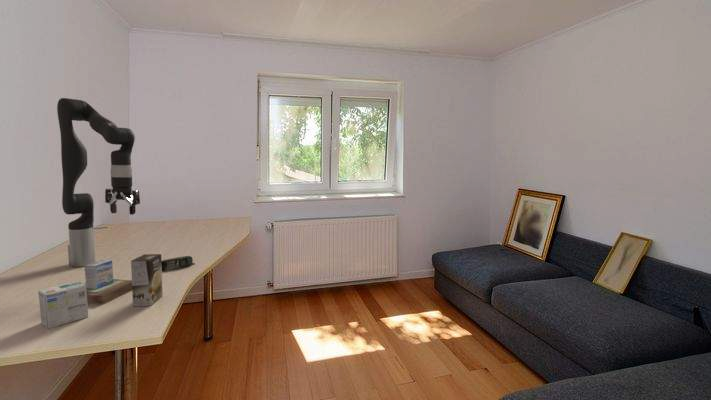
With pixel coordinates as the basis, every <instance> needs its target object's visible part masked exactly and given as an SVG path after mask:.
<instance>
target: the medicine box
mask: <svg viewBox="0 0 711 400" xmlns="http://www.w3.org/2000/svg"><path fill="white" fill-rule="evenodd" d="M113 265H114V264H113V260H111V259H110V260H109V259H102V260H99V261H95V263H92V264H89V265H86V266H84V278H85V283H86V288H88V289H99V288H101V287H103V286H106V285H108V284H110V283H113V279H114V270H113Z"/></svg>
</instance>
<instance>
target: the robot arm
mask: <svg viewBox="0 0 711 400" xmlns="http://www.w3.org/2000/svg"><path fill="white" fill-rule="evenodd" d="M56 109H57V110H56V111H57V118H58V119H57V120H58V124H59V125H58V126H59V132H60V147H61V148H60V151H61V153H60V155H61V168H62V169H61V170H62V193H61V194H62V196H61V205H62V210H63V212H64V214H65V215H78V214H79V215H80V216H79V217H78V218H77V219H74V220H72V221H70V222H69V223H68V225H67V226H68V239H69V242H68V243H69V244H68V245H67V253H68V254H67V255H68V266H71V267H73V266H74V268H77V267H78V268H79V267H80V268H81V267H85V266H86V265H89V264H92V263H95V262H96V250H95V249H96V248H95V234H94V231H95V230H94V218H95V217H94V208H95V207H94V203H95V202H94V199H93V196H92V195H91V194H90V193H88V192H87V193H86V192H85V193H83V192H81V193H75V188H76V185H77V182H78V180H79V179H80V178H81V176H82V175H83V173H84V172H85V171H86V169H87V167H88V152H87V151H88V150H87V148H86V146H85V145H84V144H83V142H82V140H80V138H79V137H78V135H77V134H76V132H75V129H74V126H73V121H76V122H82V121H83V122H86V123H87V122H88V123H89V126H90V128H91V129H92V130H93V131H94V132H96V133H97V134H99V135H100V136H102V138H103V139H104V141H105V142H106V143H108V144H111V145H119V149H116V150H113V151H111V152H110V184H111V187H110V188H105V190H104V191H105V192H104V193H105V194H104V196H105V197H104V198H105V199H104V202H105V203H106V204H109V206H110V207H109V209H110V212H111V214H116V213H117V203H118V201H121V200H122V201H125V202H126V203H127V204H128V205H129V209H128V211H129V212H128V213H129V215H130V216H131V215H135V214H136V211H137V210H136V206H137V205H140V204H141V199H140V190H138V189H136V190H133V189H132V187H133V169H132V160H131V157H132V152H133V147H134V145H135V142H136V141H135V140H136V136H135V133H134V131H133V130H132V129H131V128H127V127H118V126H117V125H116V123H115V122H113V121H112V120H110V119H108V118H107V117H105V116H103V115H101V113H100V112H99V111H97V110H96V109H95V108H94V107H93V106H92V105H91V104H89V103H88V102H86V101H84V100H83V99H76V98H68V97H67V98H65V97H61V98H59V100H58V101H57V106H56Z"/></svg>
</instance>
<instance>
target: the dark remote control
mask: <svg viewBox="0 0 711 400" xmlns="http://www.w3.org/2000/svg"><path fill="white" fill-rule="evenodd" d="M161 261H162V272H165V271H171V269H172V270H177V269H181V268H186V267H189V266H192V265H195V264H196V263H195V262H193V261H194V260H193V257H192V256H190V255H186V256H185V255H184V256H178V257H174V258H168V259H163V260H161ZM176 268H177V269H176Z"/></svg>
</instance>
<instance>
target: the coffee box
mask: <svg viewBox="0 0 711 400" xmlns="http://www.w3.org/2000/svg"><path fill="white" fill-rule="evenodd" d="M162 261H163V260H162V254H159V253H153V254H152V253H150V254H141V255H140V256H138V257H136V258H134V259H132V260H130V262H131V263H130V264H131V265H130V267H131V280H132V290H131V291H132V293H131V294H132V306H133V307H142V306H143V307H151V306H153V305H154V304H155V303H157V301H159V300H160V299H161V298H163V296H164V294H163V271H162Z"/></svg>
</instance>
